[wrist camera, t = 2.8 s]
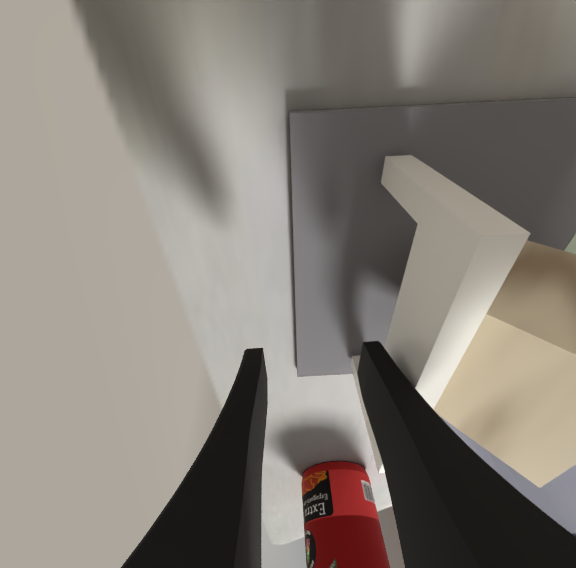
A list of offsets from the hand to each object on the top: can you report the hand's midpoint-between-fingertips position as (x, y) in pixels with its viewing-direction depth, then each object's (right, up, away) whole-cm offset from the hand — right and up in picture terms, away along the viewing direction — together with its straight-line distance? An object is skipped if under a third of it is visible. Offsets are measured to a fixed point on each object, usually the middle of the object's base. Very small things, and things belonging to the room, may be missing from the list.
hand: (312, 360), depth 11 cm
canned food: (+4, -19, +22) cm, 30 cm away
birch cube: (+6, +2, +2) cm, 7 cm away
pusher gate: (+3, +3, +4) cm, 6 cm away
